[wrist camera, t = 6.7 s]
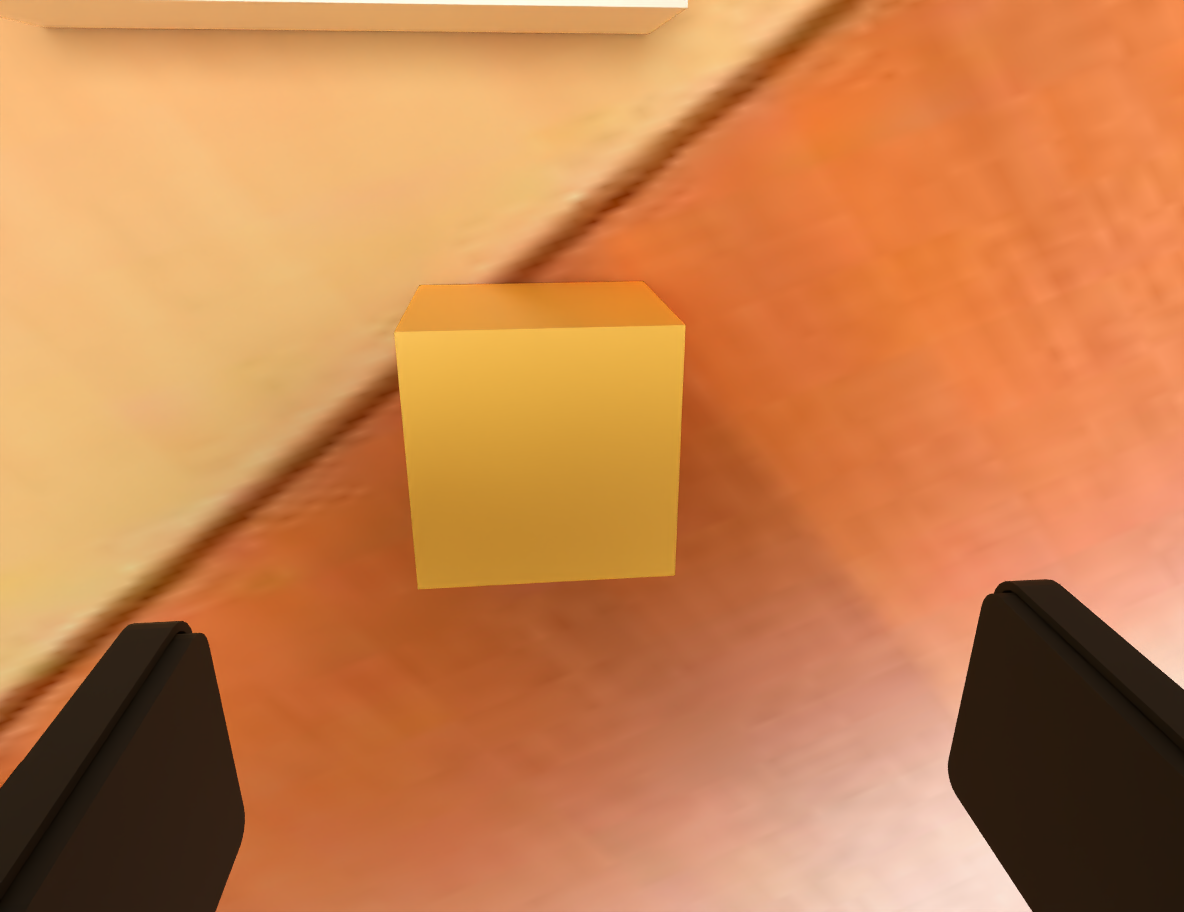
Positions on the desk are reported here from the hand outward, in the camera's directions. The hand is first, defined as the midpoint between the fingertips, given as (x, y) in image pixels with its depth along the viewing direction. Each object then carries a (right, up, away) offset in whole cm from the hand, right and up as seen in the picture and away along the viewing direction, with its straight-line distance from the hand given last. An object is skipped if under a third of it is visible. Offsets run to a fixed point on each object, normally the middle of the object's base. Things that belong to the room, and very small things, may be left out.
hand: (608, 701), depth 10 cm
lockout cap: (-2, +5, +13) cm, 14 cm away
